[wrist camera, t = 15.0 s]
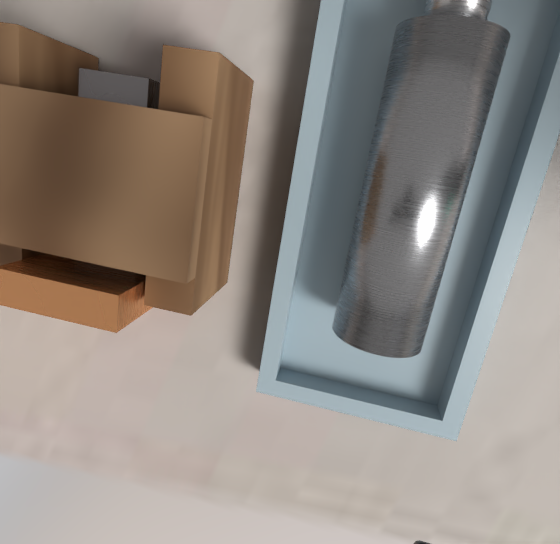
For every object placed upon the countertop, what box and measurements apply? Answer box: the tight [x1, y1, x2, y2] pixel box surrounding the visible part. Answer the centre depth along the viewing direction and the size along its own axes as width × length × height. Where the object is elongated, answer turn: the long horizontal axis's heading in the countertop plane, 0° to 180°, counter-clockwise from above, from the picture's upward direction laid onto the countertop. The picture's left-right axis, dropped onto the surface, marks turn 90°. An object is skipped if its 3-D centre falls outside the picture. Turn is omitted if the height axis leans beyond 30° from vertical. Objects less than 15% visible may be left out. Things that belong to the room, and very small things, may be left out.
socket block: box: [0, 22, 254, 316], centre depth 16 cm, size 9×9×5 cm
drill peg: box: [332, 0, 511, 358], centre depth 15 cm, size 4×13×4 cm, turn 170°
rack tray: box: [256, 0, 560, 441], centre depth 17 cm, size 9×19×2 cm, turn 170°
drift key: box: [0, 68, 160, 333], centre depth 16 cm, size 5×9×6 cm, turn 170°
